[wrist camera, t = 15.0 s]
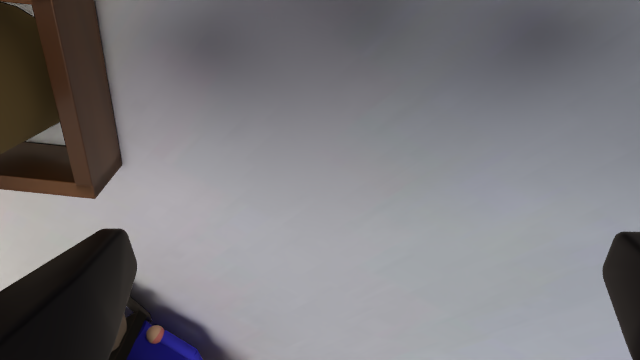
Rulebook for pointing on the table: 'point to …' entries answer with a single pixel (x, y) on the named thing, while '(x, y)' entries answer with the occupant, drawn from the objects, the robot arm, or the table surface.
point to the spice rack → (69, 108)
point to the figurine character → (148, 340)
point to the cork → (23, 80)
